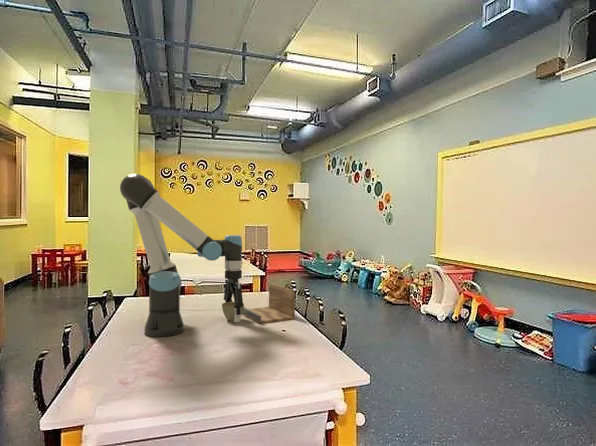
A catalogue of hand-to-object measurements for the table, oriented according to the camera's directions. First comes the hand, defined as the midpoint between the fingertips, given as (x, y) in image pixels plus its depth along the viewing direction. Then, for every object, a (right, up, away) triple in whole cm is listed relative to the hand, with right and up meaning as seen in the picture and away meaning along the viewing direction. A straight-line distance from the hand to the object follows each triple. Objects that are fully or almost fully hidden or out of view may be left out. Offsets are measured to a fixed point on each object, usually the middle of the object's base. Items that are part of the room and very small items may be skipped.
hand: (232, 319), depth 186 cm
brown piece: (+14, 0, +8) cm, 16 cm away
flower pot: (0, 0, 0) cm, 0 cm away
